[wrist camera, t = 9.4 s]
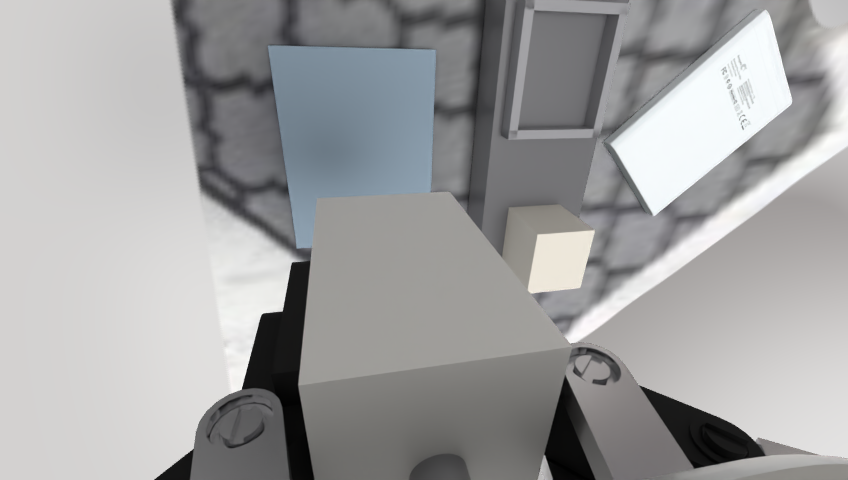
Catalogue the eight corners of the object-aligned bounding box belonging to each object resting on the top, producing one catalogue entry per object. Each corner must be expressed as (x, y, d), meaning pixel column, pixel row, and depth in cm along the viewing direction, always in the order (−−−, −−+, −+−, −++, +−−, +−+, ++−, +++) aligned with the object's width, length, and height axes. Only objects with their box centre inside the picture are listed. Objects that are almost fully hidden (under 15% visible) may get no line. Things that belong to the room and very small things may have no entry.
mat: (269, 45, 20) (267, 45, 20) (432, 49, 22) (436, 49, 22) (297, 242, 26) (296, 248, 25) (426, 233, 28) (429, 238, 27)
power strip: (502, -198, 18) (589, -317, 12) (631, -177, 19) (767, -274, 13) (462, 276, 30) (494, 335, 24) (543, 268, 32) (593, 322, 26)
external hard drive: (597, 139, 28) (747, 9, 26) (640, 210, 32) (774, 102, 30) (611, 144, 27) (770, 7, 24) (655, 218, 30) (796, 105, 28)
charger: (316, 198, 11) (288, 475, 4) (449, 191, 12) (625, 413, 5) (331, 332, 13) (330, 663, 6) (442, 319, 14) (553, 599, 7)
